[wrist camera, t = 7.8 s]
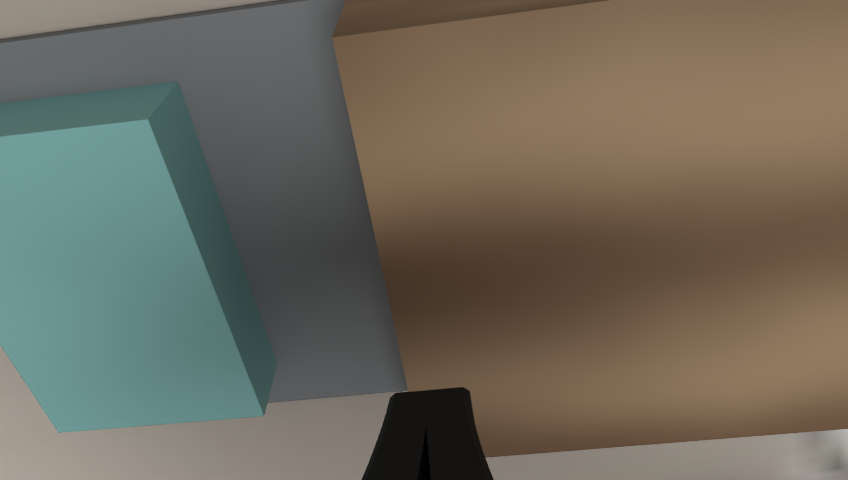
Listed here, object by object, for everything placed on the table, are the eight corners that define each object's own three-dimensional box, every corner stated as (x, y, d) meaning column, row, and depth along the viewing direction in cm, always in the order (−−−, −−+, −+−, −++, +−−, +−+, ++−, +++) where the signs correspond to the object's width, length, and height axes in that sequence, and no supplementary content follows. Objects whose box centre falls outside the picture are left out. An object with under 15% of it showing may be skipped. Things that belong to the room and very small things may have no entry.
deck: (893, 340, 20) (957, 419, 18) (424, 381, 21) (423, 462, 19) (1050, -107, 13) (1191, -78, 11) (348, -9, 14) (331, 37, 12)
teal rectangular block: (58, 432, 19) (87, 380, 21) (263, 416, 19) (277, 363, 20) (-128, 151, 14) (-70, 111, 16) (147, 119, 14) (177, 81, 15)
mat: (424, 381, 21) (424, 389, 21) (62, 414, 22) (58, 421, 22) (348, -9, 14) (347, -5, 14) (-168, 63, 16) (-178, 67, 15)
